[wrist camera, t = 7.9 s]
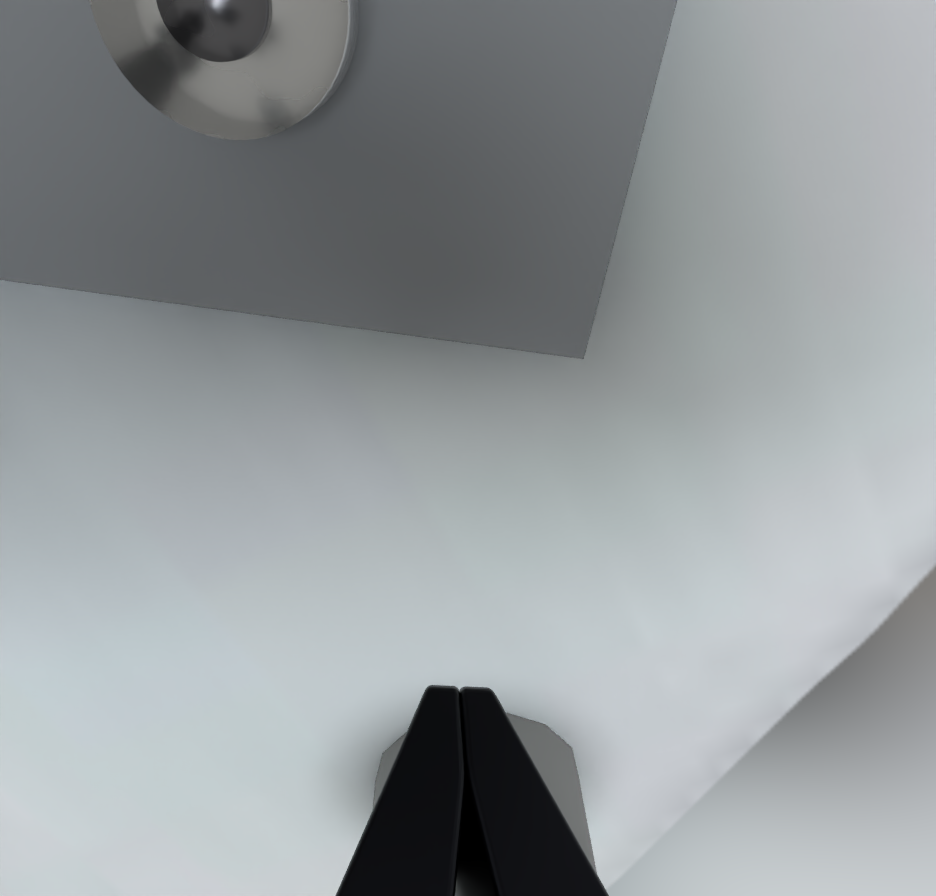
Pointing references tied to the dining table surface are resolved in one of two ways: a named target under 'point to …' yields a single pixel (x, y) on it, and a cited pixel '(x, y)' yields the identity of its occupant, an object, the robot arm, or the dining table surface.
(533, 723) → the cup
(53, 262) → the base
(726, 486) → the dining table surface
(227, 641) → the dining table surface
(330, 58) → the crank
